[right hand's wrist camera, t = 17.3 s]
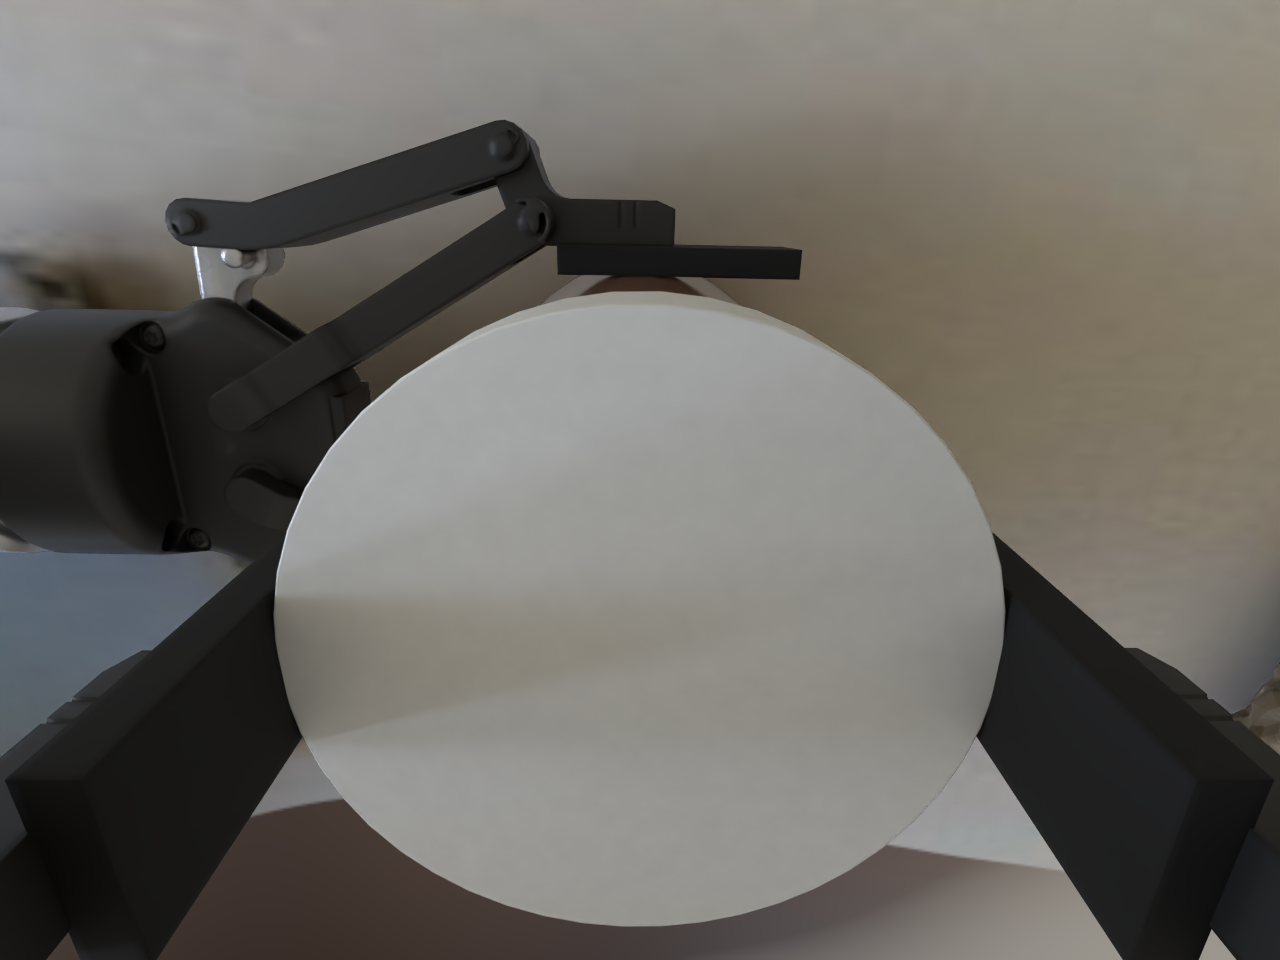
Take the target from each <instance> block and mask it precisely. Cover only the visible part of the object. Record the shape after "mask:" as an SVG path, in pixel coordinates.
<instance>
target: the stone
mask: <svg viewBox="0 0 1280 960" xmlns="http://www.w3.org/2000/svg"><path fill="white" fill-rule="evenodd" d="M1232 715H1233V716H1232V718H1233V720H1234V721H1240V722H1241V723H1242V724H1243V725H1245V726H1246V727H1247V728H1248V729H1249V730H1251V731H1252V732H1253V733H1254V734H1255V735H1257V736H1258V737H1259V738H1260V739H1261V740H1263V741H1264V742H1265V743H1266V744H1267V745H1269V746H1270V747H1271V748H1272V749H1273V750H1275V751H1276V752H1277V753H1278V754H1279V755H1280V663H1279V664H1278V666H1277V667H1276V669H1275V670H1274V673H1273V679H1272V680H1270V681H1269V682H1268V683H1266V684H1265V685H1264V686H1263V687H1262V688H1261V689H1260V690H1259V691H1258V692H1257V694H1256V696H1255V699H1254V700H1253V701H1252V704H1250V705H1249V706H1248V707H1247V708H1246V709H1244V710H1241V711H1239V712H1237V713H1234V714H1232Z"/></svg>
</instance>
